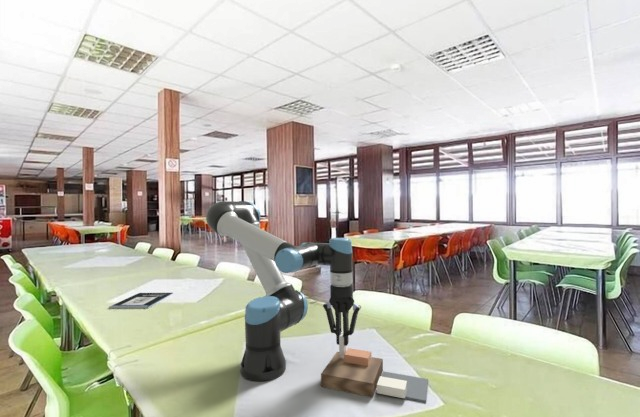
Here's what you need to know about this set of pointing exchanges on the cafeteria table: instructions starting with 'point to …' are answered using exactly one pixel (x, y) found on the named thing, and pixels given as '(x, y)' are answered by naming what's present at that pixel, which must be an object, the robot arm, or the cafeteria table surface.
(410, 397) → the mat
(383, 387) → the cream tile
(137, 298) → the picture frame
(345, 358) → the terracotta tile
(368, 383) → the deck
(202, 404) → the cafeteria table surface
